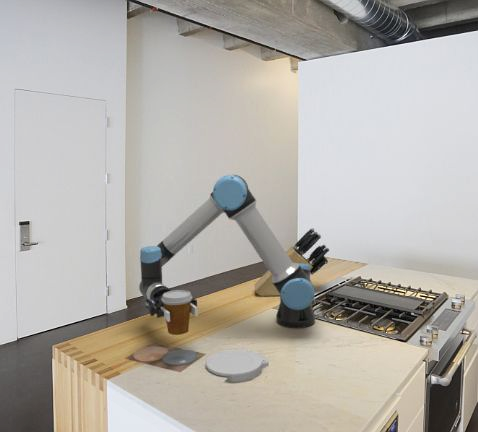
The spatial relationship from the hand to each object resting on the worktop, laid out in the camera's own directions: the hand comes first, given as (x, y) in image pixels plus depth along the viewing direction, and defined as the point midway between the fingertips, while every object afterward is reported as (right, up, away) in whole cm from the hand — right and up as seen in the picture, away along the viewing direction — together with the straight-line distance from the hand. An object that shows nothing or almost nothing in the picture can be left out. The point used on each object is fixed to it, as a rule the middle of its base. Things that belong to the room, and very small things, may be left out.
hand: (182, 314), depth 133 cm
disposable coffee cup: (-2, -7, +5) cm, 8 cm away
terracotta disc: (-11, -15, +9) cm, 21 cm away
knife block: (+42, -7, +79) cm, 90 cm away
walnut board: (-6, -16, +8) cm, 19 cm away
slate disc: (-2, -15, +6) cm, 16 cm away
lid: (+17, -17, +1) cm, 24 cm away
